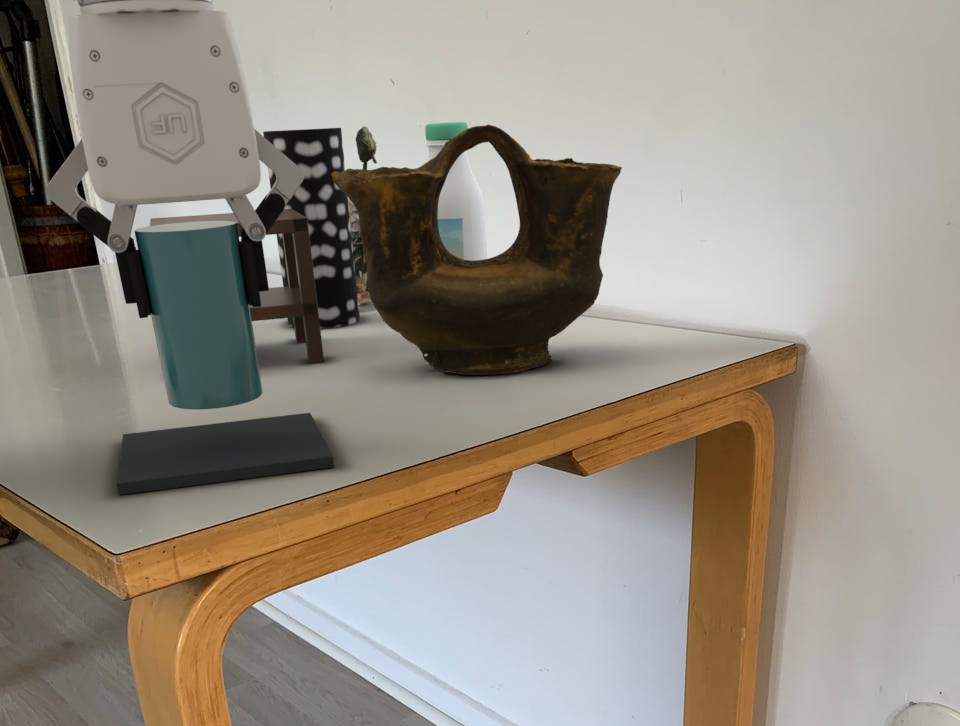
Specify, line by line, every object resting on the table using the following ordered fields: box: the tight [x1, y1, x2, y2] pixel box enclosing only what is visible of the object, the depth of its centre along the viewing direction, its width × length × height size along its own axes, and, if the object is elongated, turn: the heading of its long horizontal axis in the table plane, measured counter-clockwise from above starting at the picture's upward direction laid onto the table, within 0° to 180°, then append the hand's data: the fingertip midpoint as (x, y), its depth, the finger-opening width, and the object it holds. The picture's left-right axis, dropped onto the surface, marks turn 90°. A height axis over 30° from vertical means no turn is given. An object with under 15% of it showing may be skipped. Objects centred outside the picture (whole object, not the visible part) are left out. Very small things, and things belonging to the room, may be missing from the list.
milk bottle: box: [424, 121, 488, 261], centre depth 110 cm, size 8×8×20 cm
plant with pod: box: [348, 125, 378, 308], centre depth 120 cm, size 8×11×20 cm
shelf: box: [149, 209, 325, 364], centre depth 97 cm, size 14×12×13 cm
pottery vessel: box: [331, 123, 623, 376], centre depth 87 cm, size 25×11×20 cm, turn 101°
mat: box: [116, 412, 335, 496], centre depth 70 cm, size 14×12×1 cm
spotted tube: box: [262, 127, 361, 330], centre depth 111 cm, size 8×8×20 cm
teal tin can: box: [134, 221, 264, 410], centre depth 67 cm, size 6×9×11 cm
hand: (200, 306), depth 66 cm, fingers closed on teal tin can, 6 cm apart
